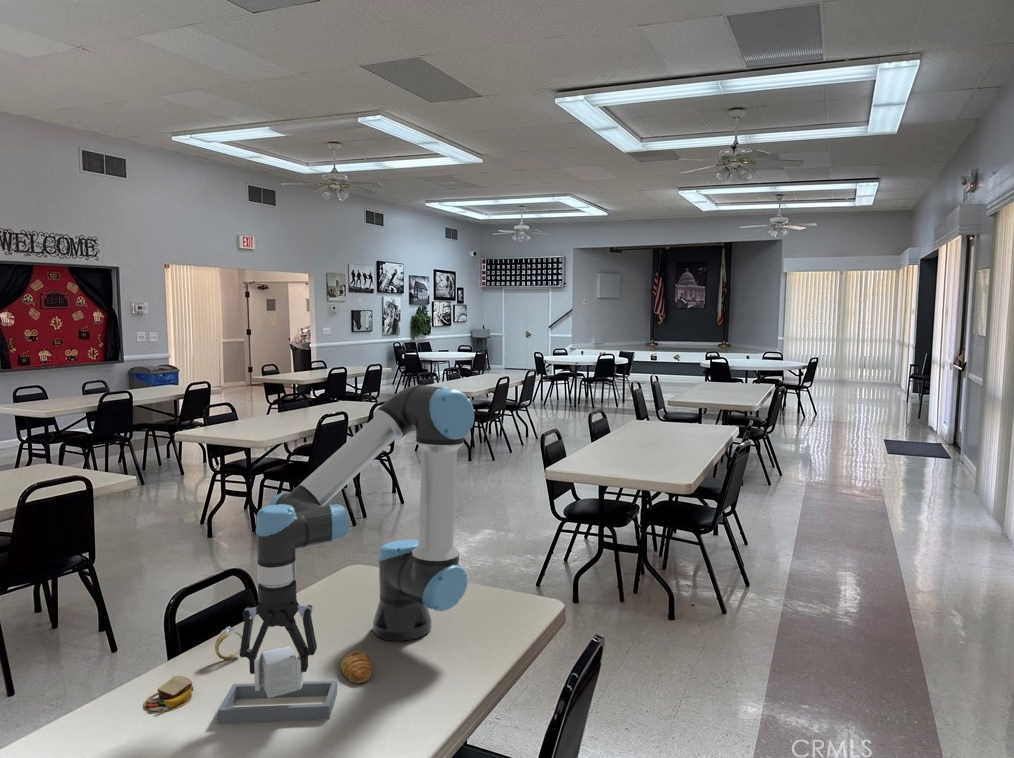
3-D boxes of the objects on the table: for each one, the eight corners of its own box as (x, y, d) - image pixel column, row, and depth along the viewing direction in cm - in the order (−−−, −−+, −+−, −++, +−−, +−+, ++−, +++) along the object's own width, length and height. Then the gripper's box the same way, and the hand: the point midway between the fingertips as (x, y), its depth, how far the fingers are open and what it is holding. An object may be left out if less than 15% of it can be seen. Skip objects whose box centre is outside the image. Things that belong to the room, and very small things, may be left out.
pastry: (378, 682, 158) (378, 666, 157) (348, 688, 155) (348, 672, 154) (366, 662, 166) (367, 647, 166) (338, 668, 163) (338, 652, 162)
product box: (291, 677, 150) (291, 645, 149) (297, 691, 145) (297, 657, 144) (261, 684, 147) (261, 651, 146) (267, 699, 142) (266, 664, 141)
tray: (337, 695, 152) (337, 680, 152) (329, 722, 142) (329, 706, 142) (233, 699, 150) (233, 684, 150) (218, 726, 140) (217, 710, 140)
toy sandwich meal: (134, 707, 148) (133, 691, 147) (178, 686, 156) (178, 670, 156) (160, 721, 143) (159, 705, 142) (204, 698, 151) (204, 682, 151)
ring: (216, 666, 165) (215, 633, 164) (214, 660, 167) (213, 628, 167) (247, 658, 168) (246, 626, 168) (244, 653, 171) (243, 621, 170)
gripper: (331, 573, 148) (332, 675, 150) (231, 575, 147) (234, 679, 149) (324, 587, 141) (326, 694, 143) (219, 589, 139) (222, 698, 141)
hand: (279, 686), depth 146 cm, fingers closed on product box, 8 cm apart
